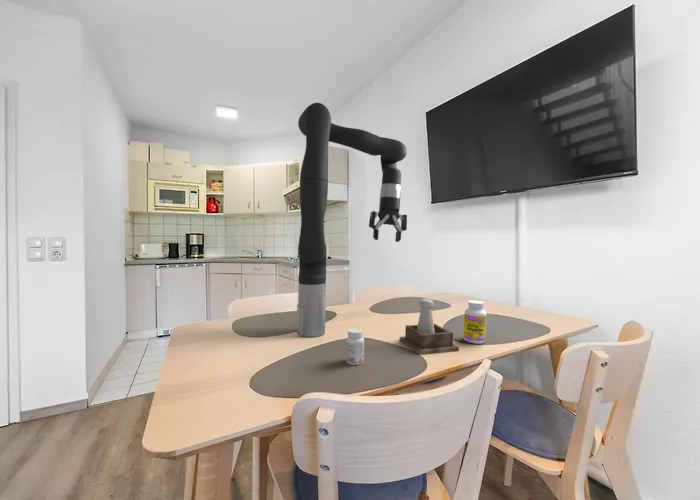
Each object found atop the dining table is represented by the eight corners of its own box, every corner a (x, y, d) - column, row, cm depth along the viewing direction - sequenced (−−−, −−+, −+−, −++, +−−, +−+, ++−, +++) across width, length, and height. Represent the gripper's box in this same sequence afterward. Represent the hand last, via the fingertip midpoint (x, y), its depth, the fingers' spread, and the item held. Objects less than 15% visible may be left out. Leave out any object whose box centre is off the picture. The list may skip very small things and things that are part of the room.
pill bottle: (359, 357, 87) (360, 327, 87) (366, 364, 83) (367, 332, 83) (343, 359, 86) (344, 328, 85) (349, 366, 81) (350, 333, 81)
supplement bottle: (462, 342, 102) (464, 302, 101) (463, 336, 108) (465, 299, 107) (485, 345, 99) (487, 304, 98) (485, 339, 105) (486, 300, 105)
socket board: (419, 354, 90) (420, 337, 90) (399, 339, 103) (400, 324, 103) (458, 350, 94) (459, 333, 94) (435, 337, 107) (435, 322, 106)
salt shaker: (435, 344, 96) (436, 301, 96) (416, 342, 97) (417, 300, 97) (434, 338, 102) (435, 298, 101) (415, 336, 103) (417, 297, 102)
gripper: (375, 193, 113) (372, 239, 113) (412, 198, 116) (408, 242, 117) (368, 196, 120) (365, 239, 120) (403, 200, 124) (400, 242, 124)
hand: (386, 240), depth 118 cm, fingers open, 8 cm apart
